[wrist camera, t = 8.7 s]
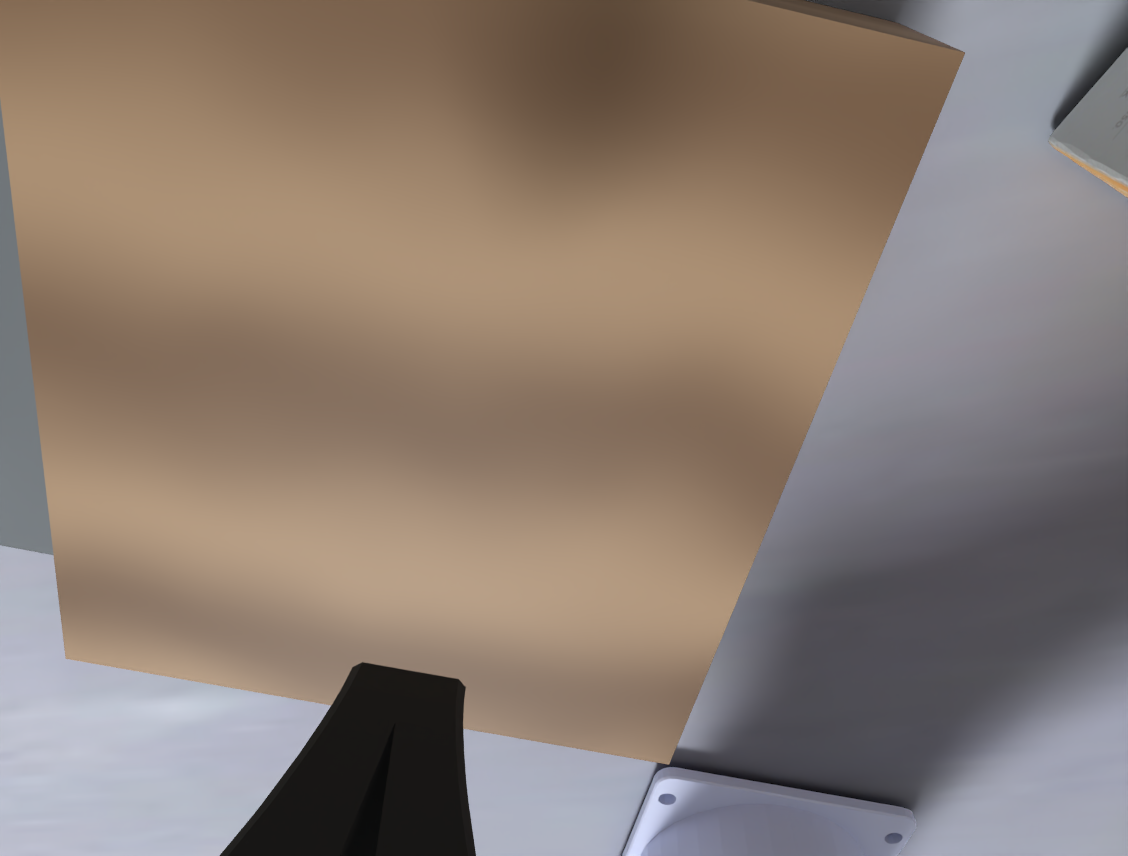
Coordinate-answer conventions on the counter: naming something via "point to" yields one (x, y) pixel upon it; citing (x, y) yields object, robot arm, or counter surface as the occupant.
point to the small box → (1100, 128)
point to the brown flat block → (441, 327)
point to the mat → (17, 399)
